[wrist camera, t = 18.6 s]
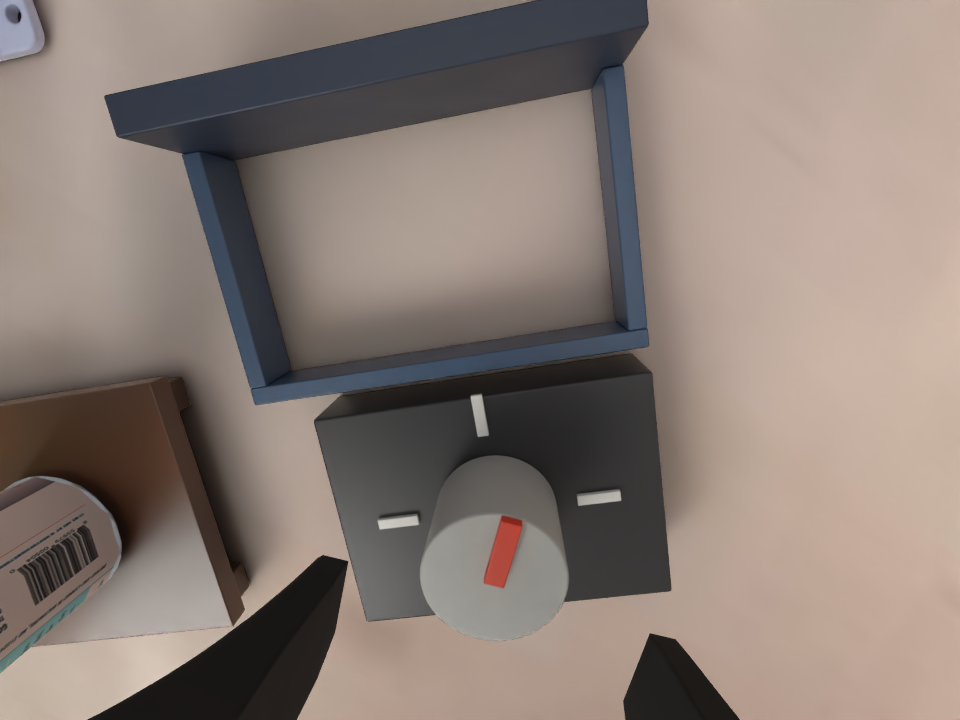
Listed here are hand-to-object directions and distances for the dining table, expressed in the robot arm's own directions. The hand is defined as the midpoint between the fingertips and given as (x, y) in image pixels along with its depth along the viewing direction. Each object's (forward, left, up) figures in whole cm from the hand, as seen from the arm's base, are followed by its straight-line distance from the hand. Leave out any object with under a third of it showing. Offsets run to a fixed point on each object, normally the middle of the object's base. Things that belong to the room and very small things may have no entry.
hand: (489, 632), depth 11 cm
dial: (0, 0, -5) cm, 5 cm away
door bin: (-9, -1, -8) cm, 12 cm away
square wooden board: (-1, -16, -8) cm, 18 cm away
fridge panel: (0, 0, -8) cm, 8 cm away
